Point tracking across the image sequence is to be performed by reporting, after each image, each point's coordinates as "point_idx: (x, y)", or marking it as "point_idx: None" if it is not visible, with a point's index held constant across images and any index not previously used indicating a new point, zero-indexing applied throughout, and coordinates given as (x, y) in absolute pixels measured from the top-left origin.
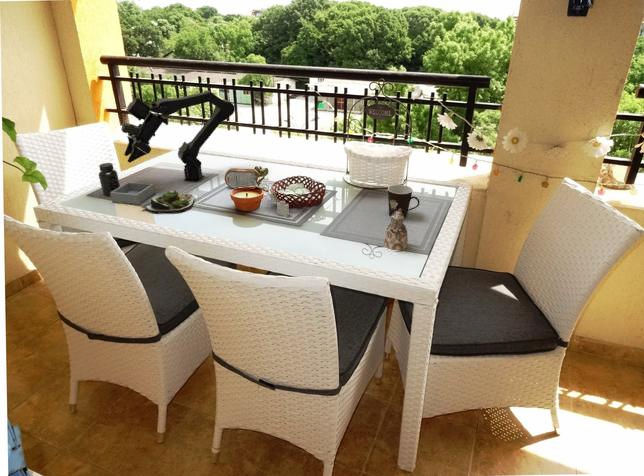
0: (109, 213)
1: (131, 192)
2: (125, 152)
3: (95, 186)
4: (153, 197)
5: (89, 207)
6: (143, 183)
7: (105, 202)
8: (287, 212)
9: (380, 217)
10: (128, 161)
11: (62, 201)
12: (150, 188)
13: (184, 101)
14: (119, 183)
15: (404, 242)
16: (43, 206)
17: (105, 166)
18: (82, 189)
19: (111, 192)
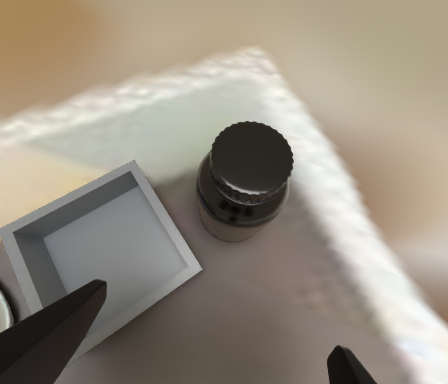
0: (64, 137)
1: (167, 262)
2: (353, 376)
3: (337, 193)
4: (5, 308)
5: (162, 117)
6: (116, 327)
7: (163, 162)
8: None
9: None
10: (93, 286)
11: (264, 87)
12: None
13: None
14: (220, 234)
15: None
16: (260, 52)
17: (219, 141)
18: (331, 154)
19: (131, 164)
